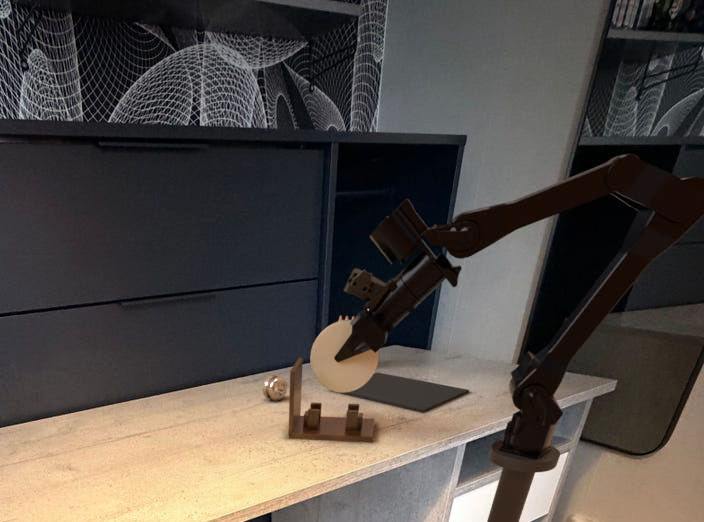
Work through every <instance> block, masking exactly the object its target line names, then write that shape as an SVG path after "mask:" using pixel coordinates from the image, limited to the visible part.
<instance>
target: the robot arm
mask: <svg viewBox="0 0 704 522" xmlns="http://www.w3.org/2000/svg"><path fill="white" fill-rule="evenodd" d="M608 195H612V196H614V197H616V198H617V199H618V200H620V201H621V202H623V203H624V204H625V205H627V206H629V207H630V208H632V209H634V210H636V211H637V214H636V215H635V217H634V219H633V220H632V221H631V224H630V226H629V229H628V231H627V233H626V235H625V238H624V240H623V242H622V245H621V246H620V249H619V250H618V251H617V253H616V255H614V257H613V258H612V260H611V261H610V263H609V264H608V265H607V267H606V268H605V269H604V271H603V272H602V273H601V274H600V275H599V277H598V278H597V280H596V281H595V282H594V284H593V285H591V288H590V289H589V290H588V291H587V293H586V294H585V295H584V297H583V298H582V299H581V301H579V303H578V304H577V306H576V307H575V308H574V309H573V311H572V312H571V313H570V315H569V316H568V318H567V319H566V320H565V322H564V323H563V324H562V325H561V326H560V328H559V329H558V331H556V333H555V335H554V336H553V337H552V338H551V340H550V341H549V342H548V344H547V345H546V346H545V347H544V348H542V349H540V351H538V352H537V353H536V354H533V353H532V352H531V351H529V350H528V351H526V353H525V354H524V355H523V358H522V360H521V361H520V363H519V365H518V366H517V367H516V368H515V369H513V370H511V371H510V375H511V379H510V381H509V383H508V389H509V394H510V398H511V400H512V403H513V405H514V406H515V408H516V409H518V411H516V412H514V413H513V414H512V416H511V420H509V421H507V423H506V426H505V431H504V434H503V438H502V440H503V441H502V444H503V446H501V447H500V448H499V450H500V451H503V452H507V453H511V454H515V455H519V456H522V457H526V458H530V459H534V460H536V459H539V458H540V457H542V456H543V455H545V454H546V453H548V452H549V451H551V450H552V447H551V446H552V445H551V442H552V439H553V436H554V433H555V430H556V427H557V424H558V421H559V420H560V419H561V417H563V416H564V411H563V410H562V408H561V407H560V405H559V403H558V401H557V399H556V397H555V394H556V392H557V390H558V389H559V387H560V385H561V384H562V382H563V379H564V377H565V375H566V373H567V371H568V368H569V366H570V363H571V362H572V361H573V359H574V358H575V356H576V355H577V354H578V353H579V351H580V350H581V349H582V348H583V347H584V345H585V344H586V342H587V341H589V339H590V337H592V335H593V334H594V333H595V331H596V330H597V329H598V328H599V327H600V325H601V324H602V323H603V322H604V320H605V319H606V318H607V317H608V315H609V314H610V313H611V312H612V311H613V309H614V308H615V307H616V306H617V304H619V302H620V301H621V300H622V298H623V297H624V296H625V294H627V292H628V291H629V290H630V288H631V287H632V286H633V285H634V283H635V282H636V281H637V280H638V279H639V277H640V276H641V275H642V274H643V272H644V271H645V270H646V268H648V266H649V265H650V264H651V263H653V261H654V260H656V259H657V258H658V257H660V256H661V255H662V254H664V253H665V252H666V251H667V250H669V249H670V248H671V247H673V246H674V245H675V244H676V243H678V241H680V239H682V238H683V236H685V235H686V234H687V233H688V232H689V231H690V230H691V229H692V228H693V227H694V226H695V225H696V224H698V222H699V221H701V219H702V218H703V217H704V178H703V177H698V176H694V177H693V176H692V177H691V176H690V177H681V178H680V177H679V176H677V175H675V174H672V173H670V172H668V171H667V170H663V169H662V168H659V167H657V166H655V165H652V164H650V163H647V162H646V161H644V160H642V159H640V157H639V156H638V155H636V153H635V154H634V153H626V154H625V153H624V154H621V155H617V156H614V157H612V158H610V159H609V160H608V161H606V162H604V163H602V164H600V165H597V166H595V167H593V168H589V169H587V170H585V171H582V172H580V173H577V174H575V175H573V176H570V177H568V178H565V179H563V180H560V181H558V182H556V183H552V184H551V185H548V186H546V187H544V188H541V189H538V190H535V191H534V192H530V193H529V194H525V195H524V196H521V197H519V198H516V199H514V200H510V201H506V202H502V203H497V204H493V205H487V206H482V207H478V208H473V209H469V210H466V211H463V212H461V213H459V214H457V215H455V216H454V217H453V218H452V220H451V221H450V222H449V223H444V224H439V225H437V224H433V226H430V227H428V226H427V224H426V223H425V222H424V220H423V219H422V218H421V216H420V215H419V214H418V213H417V212H416V210H415V208H414V205H413V204H412V202H411V201H410V199H408V198H405V199H403V201H402V202H401V203H400V204H399V205H398V206H397V207H396V208H395V209H394V210H393V211H392V213H390V215H387V216H386V217H385V218H384V219H383V220H382V221H381V222H380V223H379V225H378V226H377V227H376V228H375V229H374V230H373V231H372V233H370V235H369V238H370V239H371V241H372V242H373V243H374V244H375V246H376V247H377V248H378V249H379V251H380V252H381V254H383V256H384V257H385V258H386V260H387V261H388V262H389V263H390V265H393V264H394V263H396V262H397V263H398V264H399V263H400V265H401V266H402V265H403V264H405V262H407V260H408V259H410V258H411V257H412V255H414V254H415V253H416V251H417V250H418V249H419V248H422V250H421V251H420V252H419V253H418V254H417V255H416V256H415V257H414V258H413V259H412V260H411V261H410V262H409V263H408V264H407V265H406V266H405V267H404V268H403V269H402V270H401V271H400V272H399V273H398V274H397V275H396V276H395V277H391V278H390V279H389V280H388V281H387V282H385V281H382V280H380V279H379V278H377V277H376V276H373V272H368V271H366V269H365V268H364V269H363V270H362V269H360V268H356V267H355V268H354V269H352V271H351V273H350V275H349V277H348V278H347V281H346V283H345V286H344V288H343V292H345V293H346V294H348V295H353V296H355V297H357V298H359V299H361V300H363V301H365V304H363V305H362V307H361V308H362V309H361V310H360V311H358V312H357V314H356V316H354V319H353V320H352V319H351V320H352V321H351V322H350V324H351V326H352V333H351V335H350V336H349V338H348V339H347V340H346V342H345V343H344V345H343V346H342V347H341V349H340V350H339V352H338V353H337V354H336V356H335V357H334V359H335V360H336V362H341V361H343V360H346V359H348V358H350V357H353V356H355V355H358V354H361V353H363V352H366V351H369V350H372V351H373V352H375V353H376V352H377V351H378V350H379V351H380V349H382V348H383V347H384V345H385V344H386V342H387V340H388V334H390V333H391V332H392V331H394V329H395V327H396V326H397V325H398V324H399V323H400V322H401V321H402V320H404V319H405V318H406V317H407V316H408V315H409V314H410V315H411V314H412V313H413V312H414V311H415V310H416V308H417V307H418V306H419V305H420V304H421V303H422V302H423V301H424V300H425V299H426V298H427V297H428V296H429V295H430V294H432V292H434V290H436V289H437V288H438V287H439V286H440V285H441V284H442V283H443V282H444V281H446V280H447V282H448V283H449V284H450V285H451V287H452V288H456V287H457V286H458V283H459V282H458V281H459V275H460V273H461V271H462V269H463V268H462V265H453V264H452V263H451V261H450V260H449V258H447V256H446V255H445V253H444V252H443V251H441V252H439V254H437V255H435V254H434V252H433V251H432V250H431V248H430V247H429V246H428V245H427V243H426V242H425V241H424V240H423V239H424V238H426V240H427V241H428V242H429V244H430V245H432V246H436V247H441V248H445V249H446V252H448V254H449V255H450V256H452V257H454V258H455V259H461V260H463V259H467V258H470V257H472V256H474V255H476V254H477V253H479V252H481V251H483V250H485V249H486V248H488V247H490V246H492V245H494V244H495V243H496V242H499V241H500V240H502V239H503V238H505V237H506V236H508V235H511V234H512V233H513V232H515V231H517V230H520V229H522V228H525V227H528V226H530V225H532V224H536V223H537V222H540V221H542V220H545V219H548V218H551V217H553V216H556V215H559V214H561V213H563V212H567V211H569V210H571V209H574V208H577V207H580V206H582V205H584V204H587V203H590V202H592V201H595V200H598V199H601V198H603V197H605V196H608ZM549 445H551V446H549Z"/></svg>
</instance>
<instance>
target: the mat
mask: <svg viewBox="0 0 704 522" xmlns="http://www.w3.org/2000/svg"><path fill="white" fill-rule="evenodd" d="M332 392H333V393H335V392H334V391H332ZM336 393H338V394H340V393H339V392H336ZM468 393H470V389H467V388H462V387H456V386H452V385H446V384H441V383H435V382H430V381H425V380H419V379H414V378H410V377H409V378H408V377H404V376H398V375H393V374H387V373H383V372H374V374H373V375H372V377H371V378H370V379H369V381H368V382H367V383H366V384H364V385H363V386H362V387H360V388H359V389H357V390H354V391H351V392H346V393H341V394H343V395H346V396H351V397H354V398H358V399H364V400H367V401H372V402H376V403H381V404H385V405H388V406H389V405H390V406H392V407H393V406H394V407H398V408H402V409H406V410H410V411H415V412H418V413H423V414H424V413H426V412H428V411H430V410H432V409H435V408H437V407H439V406H440V407H441V406H442V405H444V404H446V403H449V402H450V401H453V400H456V399H457V398H460V397H462V396H465V395H467V394H468Z"/></svg>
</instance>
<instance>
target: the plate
mask: <svg viewBox="0 0 704 522" xmlns="http://www.w3.org/2000/svg"><path fill="white" fill-rule="evenodd" d="M351 321H352V319H348V320H345V319H342V320H341V321H339V320H338V321H335V322H333V323H331V324H329V325H328V326H326V327H325V328H324V329H323V330H322V331H321V332H320V333H319V334H318V336H317V337H316V338H315V340H314V342H313V343H312V347H311V350H310V355H309V357H310V358H309V360H310V361H309V362H310V368H311V371H312V373H313V377H314V378H315V379H316V381H317V382H318V383H319V384H320V385H321V386H322V387H323V388H325V389H327V390H329V391H330V392H333V391H334V392H333V393H337V392H339V393H338V394H342V393H346V392H351V391H354V390H357V389H359V388H360V387H362V386H363V385H364V384H366V383H367V382H368V381H369V379H370V378H371V377H372V375H373V374H374V373H376V372H375V371H377V368H378V364H379V359H380V349H379V350H378V351H377V352H376V353H375V352H373V351H372V350H369V351H366V352H363V353H361V354H358V355H355V356H353V357H350V358H348V359H346V360H343V361H341V362H336V360H335V359H334V357H335V356H336V354H337V353H338V352H339V350H340V349H341V347H342V346H343V345H344V343H345V342H346V340H347V339H348V338H349V336H350V335H351V333H352V326H351V324H350V322H351Z"/></svg>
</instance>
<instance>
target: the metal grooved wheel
mask: <svg viewBox="0 0 704 522" xmlns="http://www.w3.org/2000/svg"><path fill="white" fill-rule="evenodd" d="M287 392H288V383H287V381H286V379H285V378H284V377H282V376H278V375H274V374H273V375H269V376H268V377H266V379H265V380H264V382H263V385H262V393H263V395H264V397H265V399H269V400H272V401H275V402H278V401H281V400H283V399H284V397H285V396H286V394H287Z"/></svg>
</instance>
